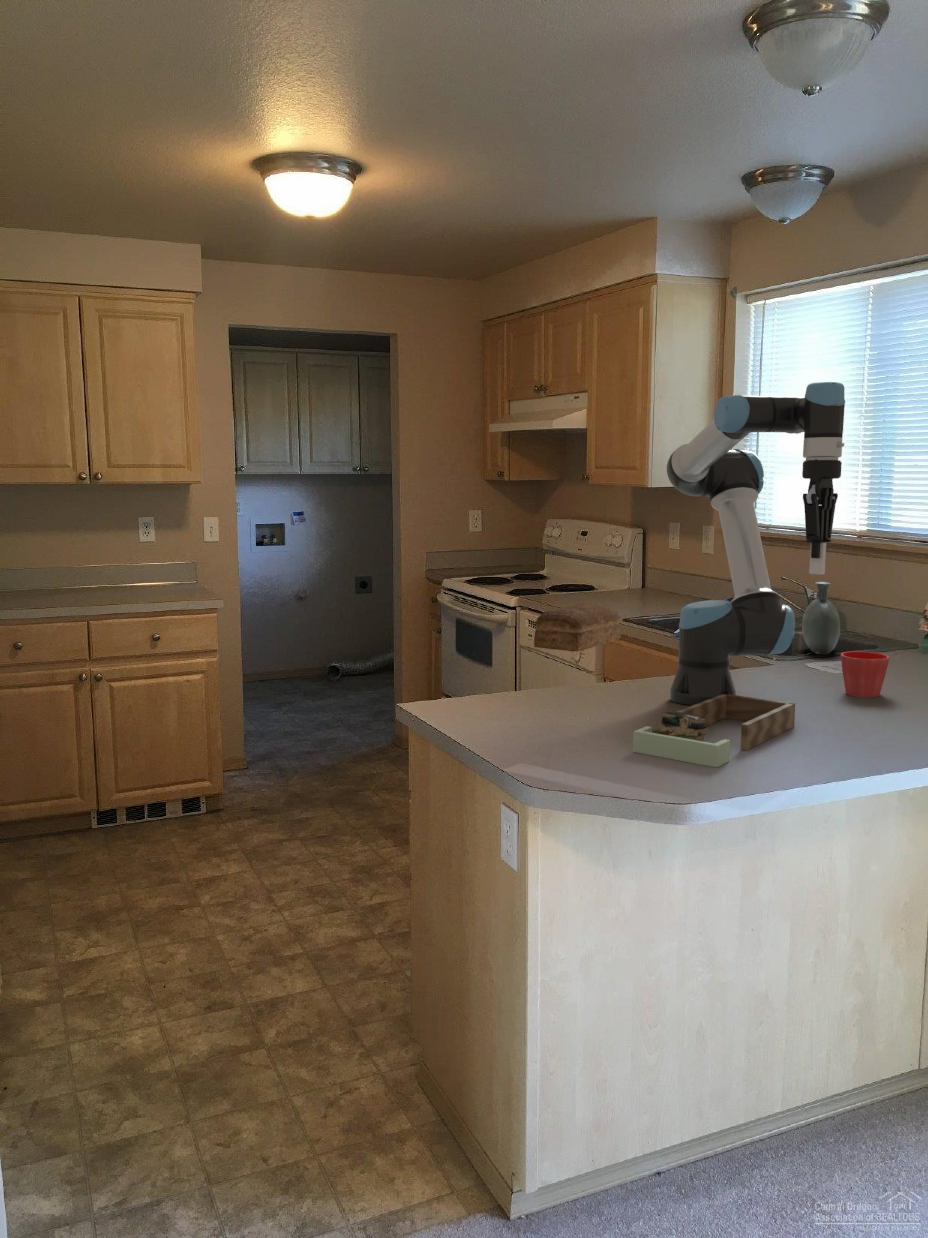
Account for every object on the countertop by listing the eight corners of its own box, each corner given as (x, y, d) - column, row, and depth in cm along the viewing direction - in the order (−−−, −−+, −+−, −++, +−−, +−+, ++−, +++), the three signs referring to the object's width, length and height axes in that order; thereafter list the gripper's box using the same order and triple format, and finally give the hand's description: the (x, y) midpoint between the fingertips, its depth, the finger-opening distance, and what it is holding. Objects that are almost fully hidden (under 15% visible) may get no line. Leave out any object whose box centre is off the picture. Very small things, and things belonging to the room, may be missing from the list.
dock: (717, 767, 181) (717, 745, 181) (632, 751, 192) (633, 731, 192) (729, 761, 185) (730, 740, 185) (646, 746, 196) (646, 726, 196)
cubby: (746, 750, 193) (747, 725, 192) (671, 737, 203) (672, 713, 202) (794, 726, 212) (795, 703, 211) (723, 716, 222) (724, 693, 221)
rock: (646, 742, 197) (648, 713, 196) (681, 738, 202) (682, 710, 202) (679, 750, 190) (680, 720, 189) (713, 745, 195) (714, 716, 194)
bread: (624, 643, 324) (625, 602, 322) (576, 656, 300) (577, 612, 298) (578, 638, 334) (578, 599, 332) (528, 650, 310) (529, 608, 308)
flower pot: (891, 699, 238) (893, 659, 237) (842, 697, 241) (844, 657, 239) (882, 690, 249) (884, 652, 247) (835, 689, 251) (837, 650, 250)
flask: (846, 653, 304) (849, 580, 301) (833, 661, 289) (836, 585, 286) (806, 649, 310) (809, 578, 307) (792, 657, 296) (795, 583, 293)
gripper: (828, 458, 199) (822, 577, 202) (852, 459, 209) (846, 572, 212) (791, 459, 204) (786, 574, 207) (816, 460, 214) (811, 570, 217)
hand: (817, 573), depth 210 cm, fingers closed
